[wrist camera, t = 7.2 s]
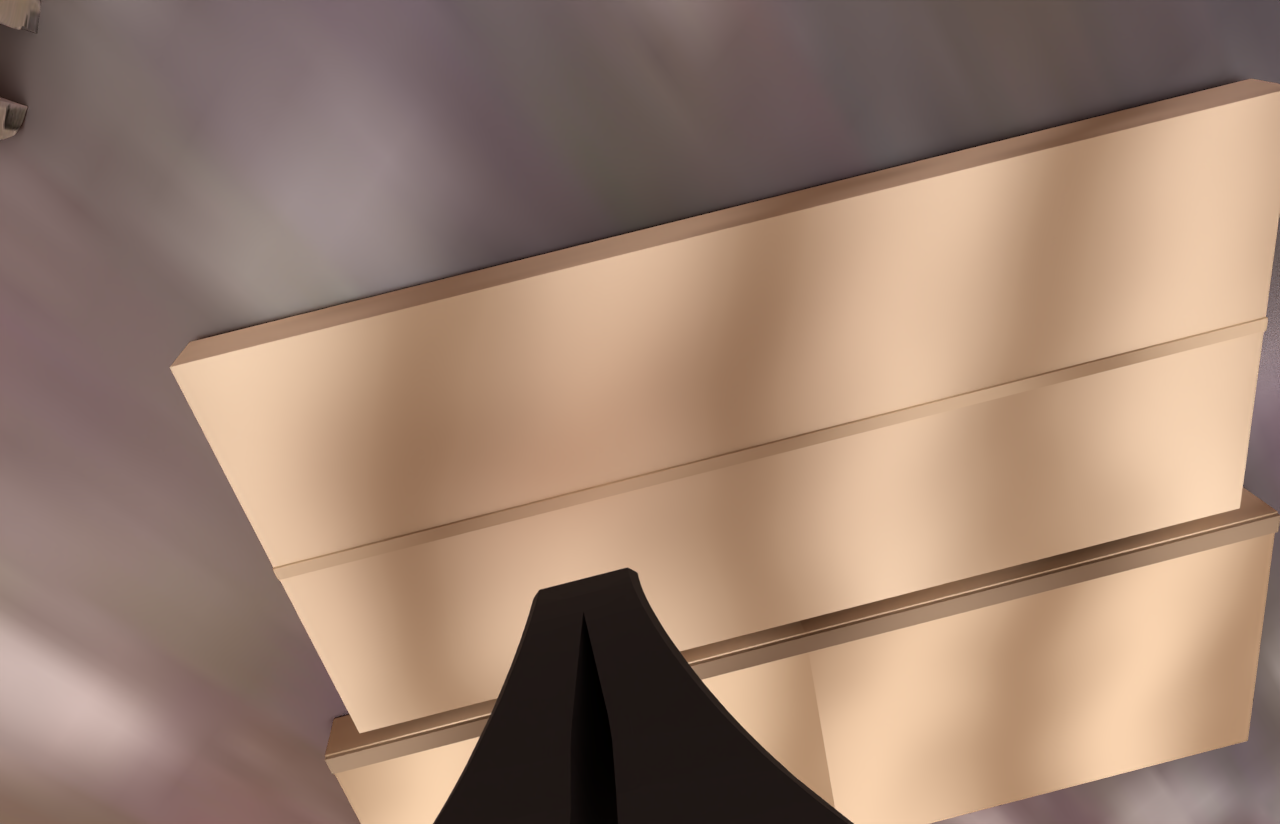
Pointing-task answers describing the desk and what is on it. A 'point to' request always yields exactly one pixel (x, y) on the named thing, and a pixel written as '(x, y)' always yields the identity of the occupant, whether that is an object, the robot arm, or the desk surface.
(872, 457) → the loose plank
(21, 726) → the desk surface
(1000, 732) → the laid strip
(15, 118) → the caliper
